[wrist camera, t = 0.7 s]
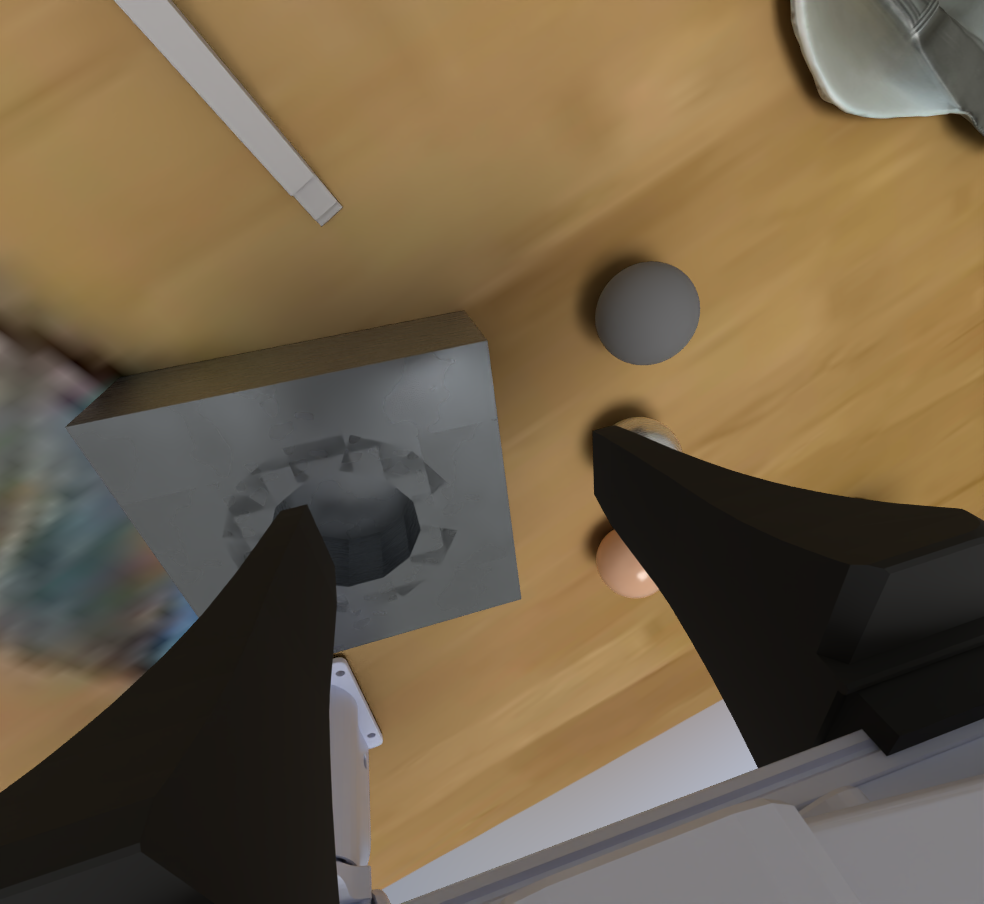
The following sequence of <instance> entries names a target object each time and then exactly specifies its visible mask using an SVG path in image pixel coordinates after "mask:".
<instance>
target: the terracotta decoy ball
mask: <svg viewBox="0 0 984 904" xmlns="http://www.w3.org/2000/svg"><path fill="white" fill-rule="evenodd" d="M596 564H597V569H598V572H599V575H600V577H601V579H602V580H603V582H604V583H605V584H606V585H607V586H608V587H609V588H610V589H611V590H612V591H614V592H615V593H617V594H619V595H621V596H624V597H627V598H644V597H648V596H650V595H652V594H654V593H656V592H657V591H658V590H659V588H658V587H657V586H656V585H655V583H654V582H653V581H652V579H651V578H650V577H649V575H648V574H647V573H646V571H645V570H644V569H643V567H642V566H641V565H640V563H639V562H638V561H637V559H636V558H635V557H634V555H633V554H632V553H631V551H630V550H629V549H628V547H627V546H626V545H625V543H624V542H623V540H622V539H621V538H620V536H619V535H618V534H617V532H616V531H615V530H612V531H611V532H609V533H608V534H607V535H606V536H605V537H604V538H603V540H602V541H601V543H600V545H599V547H598V550H597V555H596Z"/></svg>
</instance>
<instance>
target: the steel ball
mask: <svg viewBox="0 0 984 904" xmlns="http://www.w3.org/2000/svg"><path fill="white" fill-rule="evenodd" d="M614 425H616V426H619V427H622V428H624V429H627V430H629V431H632V432H634V433H637V434H639V435H641V436H644V437H646V438H649V439H651V440H653V441H656V442H658V443H660V444H663V445H665V446H667V447H670V448H672V449H675V450H677V451H680V452H682V449H681V445H680V443H679V441H678V439H677V437H676V436H675V434H674V433H673V432H672V431H671V430H670V429H669V428H668V427H667V426H666V425H664V424H663V423H661V422H659V421H657V420H654V419H651V418H646V417H632V418H627V419H624V420H621V421H619V422H617V423H615V424H614Z"/></svg>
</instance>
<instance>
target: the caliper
mask: <svg viewBox="0 0 984 904" xmlns="http://www.w3.org/2000/svg"><path fill="white" fill-rule="evenodd" d="M114 1H115V2H116V3H117V4H118V5H119V6H120V7H121V9H122V10H123V11H124V12H125V13H126V14H127V15H128V16H129V17H130V19H131V20H132V21H133V22H134V23H135V24H136V25H137V26H138V27H139V28H140V30H141V31H142V32H143V33H144V34H145V35H146V36H147V37H148V38H149V40H150V41H151V42H152V43H153V44H154V45H155V46H156V47H157V48H158V50H159V51H160V52H161V53H162V54H163V55H164V56H165V57H166V58H167V59H168V61H169V62H170V63H171V64H172V65H173V66H174V67H175V68H176V69H177V70H178V72H179V73H180V74H181V75H182V76H183V77H184V78H185V79H186V80H187V82H188V83H189V84H190V85H191V86H192V87H193V88H194V89H195V90H196V91H197V93H198V94H199V95H200V96H201V97H202V98H203V99H204V100H205V101H206V103H207V104H208V105H209V106H210V107H211V108H212V109H213V110H214V111H215V112H216V114H217V115H218V116H219V117H220V118H221V119H222V120H223V121H224V122H225V124H226V125H227V126H228V127H229V128H230V129H231V130H232V131H233V132H234V133H235V135H236V136H237V137H238V138H239V139H240V140H241V141H242V142H243V143H244V145H245V146H246V147H247V148H248V149H249V150H250V151H251V152H252V153H253V154H254V156H255V157H256V158H257V159H258V160H259V161H260V162H261V163H262V164H263V166H264V167H265V168H266V169H267V170H268V171H269V172H270V173H271V174H272V175H273V177H274V178H275V179H276V180H277V181H278V182H279V183H280V184H281V185H282V187H283V188H284V189H285V190H286V191H287V192H288V193H289V194H290V195H291V196H292V195H293V196H294V197H295V198H296V199H297V200H298V202H299V203H300V204H301V205H302V206H303V207H304V208H305V209H306V210H307V212H308V213H309V214H310V215H311V216H312V217H313V218H314V219H315V220H316V221H317V222H318V223H319V224H320V225H321V226H323V225H324V224H325V223H326V222H327V221H329V220H330V219H331V218H332V217H333V216H334V215H335V214H336V213H337V212H339V211H340V210H341V209H342V208H343V207H342V206H341V204H340V203H339V202H338V201H337V200H336V198H335V197H334V196H333V195H332V193H331V192H330V191H329V190H328V189H327V188H326V186H325V185H324V184H323V183H322V182H321V180H320V179H319V178H318V177H317V176H316V174H315V173H314V172H313V170H312V169H311V168H310V167H309V165H308V164H307V163H306V162H305V160H304V159H303V158H302V157H301V156H300V154H299V153H298V152H297V151H296V149H295V148H294V147H293V146H292V145H291V143H290V142H289V141H288V140H287V138H286V137H285V136H284V135H283V134H282V132H281V131H280V130H279V129H278V127H277V126H276V125H275V124H274V123H273V121H272V120H271V119H270V118H269V117H268V115H267V114H266V113H265V112H264V111H263V109H262V108H261V107H260V106H259V105H258V103H257V102H256V101H255V100H254V99H253V97H252V96H251V95H250V94H249V93H248V91H247V90H246V89H245V88H244V87H243V85H242V84H241V83H240V82H239V81H238V79H237V78H236V77H235V76H234V75H233V73H232V72H231V71H230V70H229V69H228V67H227V66H226V65H225V64H224V63H223V61H222V60H221V59H220V58H219V57H218V55H217V54H216V53H215V52H214V51H213V49H212V48H211V47H210V46H209V45H208V43H207V42H206V41H205V40H204V39H203V37H202V36H201V35H200V34H199V33H198V31H197V30H196V29H195V28H194V27H193V25H192V24H191V23H190V22H189V21H188V20H187V18H186V17H185V16H184V15H183V14H182V12H181V11H180V10H179V9H178V8H177V6H176V5H175V4H174V3H173V2H172V0H114Z"/></svg>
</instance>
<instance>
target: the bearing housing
mask: <svg viewBox="0 0 984 904" xmlns="http://www.w3.org/2000/svg"><path fill="white" fill-rule="evenodd" d="M65 428H66V429H67V431H68V432H69V434H70V435H71V437H72V438H73V439H74V441H75V442H76V444H77V445H78V447H79V448H80V449H81V451H82V452H83V454H84V455H85V457H86V458H87V459H88V461H89V462H90V464H91V465H92V466H93V468H94V469H95V471H96V472H97V474H98V475H99V476H100V478H101V479H102V481H103V482H104V484H105V485H106V486H107V488H108V489H109V491H110V492H111V494H112V495H113V496H114V498H115V499H116V501H117V502H118V503H119V505H120V506H121V508H122V509H123V511H124V512H125V513H126V515H127V516H128V518H129V519H130V521H131V522H132V523H133V525H134V526H135V528H136V529H137V531H138V532H139V533H140V535H141V536H142V538H143V539H144V541H145V542H146V543H147V545H148V546H149V548H150V549H151V550H152V552H153V553H154V555H155V556H156V558H157V559H158V560H159V562H160V563H161V565H162V566H163V568H164V569H165V570H166V572H167V573H168V575H169V576H170V578H171V579H172V580H173V582H174V583H175V585H176V586H177V587H178V589H179V590H180V592H181V593H182V595H183V596H184V597H185V599H186V600H187V602H188V603H189V605H190V606H191V607H192V609H193V610H194V612H195V613H196V615H197V616H198V617H200V616H201V615H202V614H203V613H204V612H205V610H206V609H207V608H208V607H209V605H210V604H211V603H212V602H213V600H214V599H215V598H216V597H217V596H218V594H219V593H220V592H221V591H222V589H223V588H224V587H225V586H226V584H227V583H228V582H229V581H230V579H231V578H232V577H233V576H234V574H235V573H236V572H237V570H238V569H239V568H240V566H241V565H242V564H243V562H244V561H245V560H246V558H247V557H248V555H249V554H250V553H251V551H252V550H253V549H254V547H255V546H256V544H257V543H258V542H259V540H260V539H261V537H262V536H263V535H264V533H265V532H266V530H267V529H268V527H269V526H270V525H271V523H272V522H273V520H274V519H275V518H276V516H277V515H278V514H279V513H280V511H282V510H286V509H290V508H294V507H298V506H302V505H306V504H307V505H308V507H309V509H310V512H311V514H312V516H313V518H314V521H315V523H316V525H317V527H318V529H319V532H320V534H321V536H322V538H323V541H324V543H325V545H326V547H327V549H328V552H329V554H330V556H331V558H332V561H333V563H334V565H335V576H336V592H337V611H336V625H335V638H334V650H333V653H336V652H340V651H343V650H347V649H350V648H353V647H357V646H360V645H364V644H367V643H371V642H374V641H378V640H381V639H385V638H388V637H392V636H395V635H398V634H402V633H405V632H409V631H412V630H416V629H419V628H423V627H426V626H430V625H433V624H436V623H440V622H443V621H447V620H450V619H454V618H457V617H461V616H464V615H468V614H471V613H475V612H478V611H481V610H485V609H488V608H492V607H495V606H499V605H502V604H506V603H509V602H513V601H516V600H519V599H521V593H520V585H519V578H518V570H517V563H516V555H515V547H514V540H513V532H512V525H511V517H510V509H509V502H508V494H507V486H506V479H505V471H504V464H503V456H502V448H501V441H500V433H499V426H498V418H497V410H496V403H495V395H494V388H493V380H492V372H491V365H490V357H489V349H488V342H487V339H486V338H485V337H484V336H483V334H482V333H481V332H480V330H479V329H478V328H477V327H476V325H475V324H474V323H473V321H472V320H471V319H470V317H469V316H468V315H467V314H466V312H465V311H459V312H454V313H449V314H444V315H439V316H433V317H428V318H423V319H418V320H413V321H408V322H403V323H397V324H392V325H387V326H382V327H377V328H372V329H367V330H361V331H356V332H351V333H346V334H341V335H336V336H331V337H325V338H320V339H315V340H310V341H305V342H300V343H295V344H289V345H284V346H279V347H274V348H269V349H264V350H259V351H254V352H248V353H243V354H238V355H233V356H228V357H223V358H218V359H212V360H207V361H202V362H197V363H192V364H187V365H182V366H176V367H171V368H166V369H161V370H156V371H151V372H146V373H140V374H135V375H130V376H125V377H120V378H119V379H118V380H117V381H116V382H115V383H113V384H112V385H111V386H110V387H109V388H108V389H107V390H106V391H105V392H103V393H102V394H101V395H100V396H99V397H98V398H97V399H96V400H95V401H93V402H92V403H91V404H90V405H89V406H88V407H87V408H86V409H85V410H84V411H82V412H81V413H80V414H79V415H78V416H77V417H76V418H75V419H74V420H72V421H71V422H70V423H69V424H68V425H67V426H66V427H65Z"/></svg>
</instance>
